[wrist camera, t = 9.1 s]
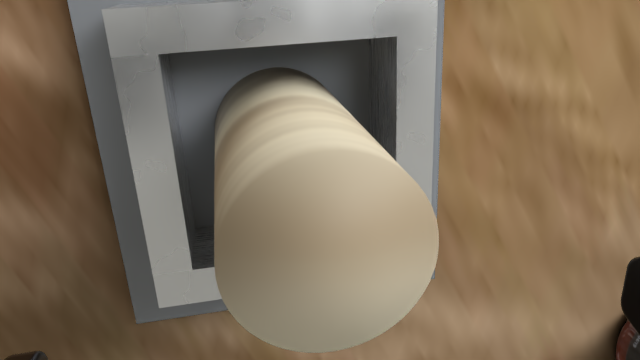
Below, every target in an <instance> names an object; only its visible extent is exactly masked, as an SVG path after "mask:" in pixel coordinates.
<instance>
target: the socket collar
mask: <svg viewBox="0 0 640 360" xmlns="http://www.w3.org/2000/svg"><path fill="white" fill-rule="evenodd" d="M101 10H102V15H103V20H104V25H105V30H106V36H107V41H108V46H109V51H110V56H111V62H112V67H113V72H114V77H115V82H116V87H117V93H118V98H119V103H120V108H121V113H122V119H123V124H124V129H125V134H126V139H127V144H128V150H129V155H130V160H131V165H132V170H133V175H134V181H135V186H136V191H137V196H138V201H139V207H140V212H141V217H142V222H143V227H144V232H145V238H146V243H147V248H148V253H149V258H150V264H151V269H152V274H153V279H154V284H155V289H156V295H157V300H158V305H159V308H164V307H171V306H178V305H185V304H191V303H198V302H205V301H212V300H218V299H222V297H221V295H220V292H219V290H218V286H217V282H216V277H215V266H214V226H207V227H199V228H195V221H194V215H193V208H192V202H191V195H190V189H189V182H188V175H187V169H186V162H185V156H184V149H183V143H182V136H181V130H180V123H179V116H178V110H177V103H176V97H175V90H174V84H173V77H172V71H171V64H170V57H169V53H180V52H194V51H207V50H221V49H234V48H248V47H261V46H275V45H288V44H302V43H315V42H329V41H342V40H356V39H368V49H369V116H370V135H371V136H372V137H373V138H374V139H375V140H376V141H377V142H378V143H379V144H380V145H381V146H382V147H383V148H384V149H385V150H386V151H387V152H388V153H389V154H390V156H391V157H392V158H393V159H394V160H395V161H396V162H397V163H398V164H399V165H400V166H401V167H402V168H403V169H404V170H405V171H406V172H407V173H408V174H409V175H410V176H411V177H412V178H413V179H414V181H415V182H416V183H417V184H418V185H419V186H420V187H421V189H422V190H423V192H424V193H425V194H426V196H427V198H428V200H429V202H430V203H431V201H432V169H433V137H434V105H435V74H436V42H437V10H438V0H183V1H166V2H149V3H132V4H119V5H116V6H112V7H109V8H105V9H101Z"/></svg>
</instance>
